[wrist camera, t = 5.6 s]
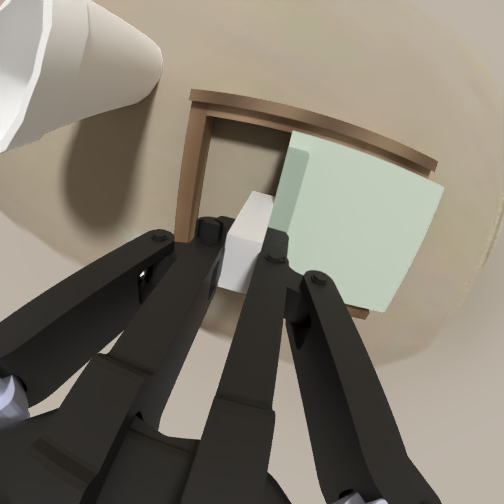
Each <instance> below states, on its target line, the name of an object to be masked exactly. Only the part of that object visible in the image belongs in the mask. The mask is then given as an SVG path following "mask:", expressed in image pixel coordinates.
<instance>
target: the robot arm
mask: <svg viewBox="0 0 504 504" xmlns="http://www.w3.org/2000/svg"><path fill="white" fill-rule="evenodd" d="M274 201H275V197H274V196H271V195H267V194H263V193H259V192H255V191H252V193H251V195H250V196H249V198H248V200H247V201H246V203H245V205H244V206H243V208H242V210H241V211H240V213H239V215H238V216H237V218H236V219H233V218H229V217H225V216H220V217H218V218H214V217H201V218H198V219H197V220H196V226H195V234H194V238H193V239H192V240H191V241H190V242H188V243H186V242H174V241H175V236H174V235H173V234H172V233H171V232H169V231H166V230H163V229H162V230H161V229H157V230H152V231H149V232H147V233H145V234H143V235H141V236H139V237H137V238H135V239H134V240H132V241H130V242H128V243H126V244H124V245H122V246H121V247H119V248H117V249H115V250H113V251H112V252H110V253H108V254H106V255H105V256H103V257H101V258H99V259H98V260H96V261H94V262H92V263H91V264H89V265H87V266H86V267H84V268H82V269H81V270H79V271H78V272H76V273H74V274H72V275H71V276H69V277H67V278H66V279H64V280H63V281H61V282H59V283H58V284H56V285H55V286H53V287H51V288H50V289H49V290H47V291H45V292H44V293H42V294H41V295H39V296H38V297H36V298H35V299H33V300H32V301H30V302H29V303H27V304H26V305H24V306H23V307H21V308H20V309H18V310H17V311H15V312H14V313H13V314H11V315H10V316H8V317H7V318H6V319H4V320H3V321H1V322H0V504H292V503H291V502H290V501H289V499H288V498H287V496H286V495H285V493H284V492H283V490H282V488H281V487H280V486H279V484H278V483H277V481H276V480H275V479H274V478H273V477H272V476H271V475H270V474H269V473H268V472H267V470H268V464H269V457H270V452H271V446H272V439H273V433H274V426H275V411H273V410H272V401H273V396H274V389H275V381H276V374H277V367H278V359H279V351H280V343H281V335H282V326H283V318H285V319H286V329H287V333H288V338H289V342H290V347H291V351H292V356H293V360H294V365H295V369H296V374H297V378H298V383H299V388H300V393H301V397H302V402H303V407H304V412H305V417H306V421H307V426H308V431H309V436H310V441H311V446H312V451H313V456H314V461H315V466H316V471H317V476H318V480H319V484H320V488H321V491H322V494H323V496H324V498H325V501H326V503H327V504H442V503H441V501H440V499H439V498H438V496H437V495H436V493H435V492H434V491H433V489H432V488H431V487H430V486H429V484H428V483H427V482H426V480H425V479H424V477H423V476H422V475H421V473H420V472H419V471H418V469H417V468H416V467H415V465H414V464H413V463H412V461H411V460H410V459H409V457H408V456H407V453H406V450H405V447H404V444H403V441H402V438H401V436H400V433H399V430H398V427H397V424H396V422H395V419H394V416H393V414H392V411H391V409H390V406H389V403H388V401H387V398H386V396H385V394H384V391H383V388H382V386H381V384H380V381H379V379H378V376H377V374H376V372H375V369H374V367H373V365H372V362H371V360H370V358H369V355H368V353H367V351H366V348H365V346H364V344H363V342H362V340H361V337H360V335H359V333H358V331H357V329H356V326H355V324H354V322H353V320H352V318H351V316H350V314H349V311H348V309H347V307H346V305H345V303H344V301H343V299H342V297H341V295H340V293H339V291H338V289H337V287H336V285H335V283H334V281H333V280H332V278H331V277H330V276H328V275H327V274H326V273H323V272H321V271H317V270H309V271H306V272H305V274H304V275H301V274H299V273H297V272H296V271H294V270H293V269H291V268H290V267H289V260H288V258H287V254H288V242H289V236H288V235H287V233H286V232H284V231H280V230H277V229H273V228H269V227H268V224H269V221H270V217H271V213H272V209H273V205H274ZM143 271H144V275H143V276H141V277H140V274H141V273H142V272H143ZM218 280H219V281H218ZM217 282H218V287H222V288H225V289H229V290H232V291H236V292H239V293H243V294H246V298H245V301H244V304H243V307H242V311H241V314H240V317H239V321H238V324H237V327H236V330H235V334H234V337H233V340H232V344H231V347H230V350H229V353H228V357H227V360H226V363H225V366H224V370H223V373H222V376H221V379H220V383H219V386H218V389H217V392H216V395H215V397H214V400H213V403H212V406H211V409H210V412H209V415H208V418H207V421H206V425H205V428H204V431H203V434H202V437H201V440H196V439H185V438H176V437H168V436H165V435H163V434H161V433H160V432H159V431H158V429H159V423H160V418H161V415H162V413H163V410H164V408H165V405H166V403H167V401H168V398H169V396H170V394H171V391H172V389H173V387H174V384H175V382H176V380H177V377H178V375H179V373H180V370H181V368H182V366H183V363H184V361H185V359H186V357H187V354H188V352H189V350H190V347H191V345H192V343H193V341H194V338H195V336H196V334H197V332H198V329H199V327H200V325H201V323H202V320H203V318H204V316H205V314H206V312H207V309H208V307H209V305H210V303H211V300H212V298H213V296H214V294H215V289H216V284H217ZM122 331H123V333H122V334H121V336H120V337H119V339H118V340H117V342H116V343H115V345H114V346H113V348H112V349H111V350H110V352H109V353H107V354H102V353H98V352H100V351H101V350H102V349H103V348H104V347H105V346H106V345H107V344H108V343H110V342H111V341H112V340H113V339H114V338H116V337H117V336H118V335H119V334H120V333H121V332H122ZM97 353H98V354H97ZM90 359H91V360H90ZM89 360H90V361H89ZM88 361H89V363H88V364H87V366H86V367H85V369H84V370H83V372H82V373H81V375H80V376H79V378H78V379H77V381H76V382H75V384H74V385H73V387H72V388H71V390H70V392H69V393H68V395H67V396H66V398H65V399H64V401H63V402H62V404H61V406H60V407H59V408H57V409H54V410H52V411H49V412H46V413H43V414H40V415H37V416H34V417H31V418H30V413H29V412H28V408H30V407H32V406H34V405H36V404H38V403H40V402H41V401H43V400H44V399H46V398H47V397H49V396H50V395H51V394H52V393H53V392H55V391H56V390H57V389H58V388H59V387H60V386H61V385H62V384H64V383H65V382H66V381H67V380H68V379H69V378H70V377H71V376H72V375H73V374H75V373H76V372H77V371H78V370H79V369H80V368H81V367H83V366H84V365H85V364H86V363H87V362H88Z"/></svg>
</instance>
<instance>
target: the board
mask: <svg viewBox="0 0 504 504" xmlns="http://www.w3.org/2000/svg"><path fill="white" fill-rule="evenodd" d="M189 100H191V101H192V105H191V110H190V115H189V121H188V127H187V133H186V139H185V145H184V152H183V159H182V166H181V173H180V181H179V190H178V199H177V208H176V218H175V230H174V236H175V241H174V242H186V243H188V242H190V241H191V240H192V239H193V238H194V234H195V226H196V220H197V219H198V213H199V206H200V199H201V192H202V186H203V179H204V173H205V167H206V161H207V155H208V150H209V144H210V139H211V133H212V128H213V123H214V118H215V117H220V118H226V119H231V120H237V121H242V122H247V123H252V124H257V125H261V126H266V127H270V128H274V129H278V130H282V131H286V132H290V133H292V131H293V130H294V131H297V132H301V133H305V134H308V135H312V136H315V137H319V138H322V139H325V140H329V141H332V142H335V143H338V144H341V145H344V146H347V147H350V148H353V149H356V150H358V151H361V152H364V153H367V154H369V155H372V156H375V157H377V158H380V159H382V160H385V161H387V162H390V163H392V164H395V165H397V166H400V167H402V168H404V169H407V170H409V171H411V172H413V173H416V174H418V175H420V176H422V177H424V178H426V179H428V177H429V174H430V171H431V170H432V171H434V172H435V169H436V166H437V163H438V161H436V160H434V159H432V158H430V157H428V156H426V155H424V154H422V153H420V152H418V151H416V150H414V149H412V148H409V147H407V146H405V145H403V144H401V143H398V142H396V141H394V140H391V139H389V138H387V137H384V136H382V135H379V134H377V133H374V132H371V131H369V130H366V129H364V128H361V127H358V126H355V125H352V124H350V123H347V122H344V121H341V120H338V119H334V118H331V117H328V116H325V115H322V114H318V113H315V112H311V111H308V110H304V109H300V108H296V107H292V106H288V105H284V104H280V103H276V102H271V101H266V100H262V99H257V98H251V97H246V96H240V95H234V94H228V93H221V92H214V91H206V90H197V89H191V92H190V97H189ZM218 281H219V280H218ZM217 283H218V282H217ZM345 305H346V307H347V309H348V311H349V314H350V316H351V317H355V318H360V319H364V320H365V319H366V318H367V316H368V314H369V309H366V308H361V307H357V306H353V305H349V304H345Z"/></svg>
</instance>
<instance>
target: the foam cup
mask: <svg viewBox="0 0 504 504" xmlns="http://www.w3.org/2000/svg"><path fill="white" fill-rule="evenodd" d="M162 67H163V59H162V54H161V49H160V48H159V47H158V46H157V45H156V44H155V43H154V42H153V41H152V40H151V39H149V38H148V37H147V36H146V35H144V34H143V33H141V32H140V31H139V30H137V29H136V28H134V27H133V26H131V25H130V24H128V23H127V22H125V21H124V20H122V19H120V18H119V17H117V16H116V15H114V14H113V13H111V12H109V11H108V10H106V9H104V8H103V7H101V6H99V5H98V4H96V3H94V2H92V1H90V0H6V1H5V2H4V3H3V4H2V5H1V6H0V154H1V153H3V152H6V151H9V150H12V149H15V148H18V147H21V146H23V145H26V144H29V143H32V142H34V141H37V140H40V139H41V138H42V136H43V135H44V134H45V133H48V132H50V131H53V130H55V129H58V128H60V127H63V126H65V125H68V124H71V123H73V122H76V121H79V120H82V119H85V118H88V117H91V116H94V115H97V114H100V113H103V112H107V111H110V110H114V109H117V108H121V107H125V106H129V105H133V104H136V103H138V102H139V101H141V100H142V99H143V98H145V97H146V96H148V95H149V94H150V93H151V92H152V90H153V89H154V87H155V86H156V84H157V83H158V81H159V80H160V76H161V71H162Z"/></svg>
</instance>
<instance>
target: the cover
mask: <svg viewBox="0 0 504 504" xmlns="http://www.w3.org/2000/svg"><path fill="white" fill-rule="evenodd" d="M443 190H444V187H442V186H441V185H439V184H437V183H435V182H433V181H431V180H428V179H426V178H424V177H422V176H420V175H418V174H416V173H413V172H411V171H409V170H407V169H404V168H402V167H400V166H397V165H395V164H392V163H390V162H387V161H385V160H382V159H380V158H377V157H375V156H372V155H369V154H367V153H364V152H361V151H358V150H356V149H353V148H350V147H347V146H344V145H341V144H338V143H335V142H332V141H329V140H325V139H322V138H319V137H315V136H312V135H308V134H305V133H301V132H297V131H294V130H293V131H292V135H291V139H290V143H289V147H288V151H287V154H286V158H285V162H284V166H283V170H282V174H281V178H280V182H279V186H278V189H277V193H276V197H275V201H274V205H273V209H272V213H271V217H270V221H269V224H268V227H269V228H273V229H277V230H280V231H284V232H286V233H287V235H288V236H289V242H288V254H287V258H288V260H289V267H290V268H291V269H293V270H294V271H296V272H297V273H299V274H301V275H304V274H305V272H306V271H309V270H317V271H321V272H323V273H326V274H327V275H328V276H330V277H331V278H332V280H333V281H334V283H335V285H336V287H337V289H338V291H339V293H340V295H341V297H342V299H343V301H344V303H345V304H349V305H353V306H357V307H361V308H366V309H370V310H374V311H379V312H383V313H384V311H385V310H386V308H387V306H388V305H389V303H390V301H391V300H392V298H393V296H394V294H395V293H396V291H397V289H398V287H399V286H400V284H401V282H402V280H403V278H404V277H405V275H406V273H407V271H408V269H409V267H410V265H411V263H412V261H413V259H414V257H415V255H416V253H417V251H418V249H419V247H420V245H421V243H422V241H423V239H424V236H425V234H426V232H427V230H428V227H429V225H430V223H431V221H432V218H433V216H434V213H435V211H436V209H437V206H438V204H439V201H440V198H441V196H442V193H443Z"/></svg>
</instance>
